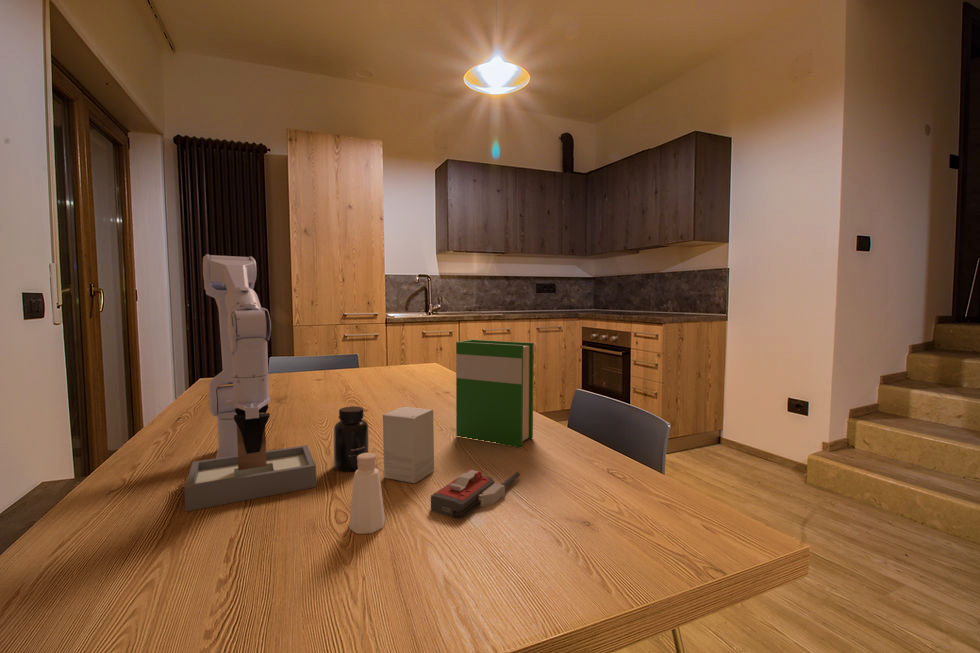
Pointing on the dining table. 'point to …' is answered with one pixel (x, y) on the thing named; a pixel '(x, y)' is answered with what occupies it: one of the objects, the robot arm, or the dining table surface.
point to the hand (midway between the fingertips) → (253, 448)
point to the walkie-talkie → (468, 494)
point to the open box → (248, 478)
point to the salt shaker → (366, 497)
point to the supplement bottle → (350, 438)
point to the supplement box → (408, 444)
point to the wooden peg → (252, 458)
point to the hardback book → (494, 391)
